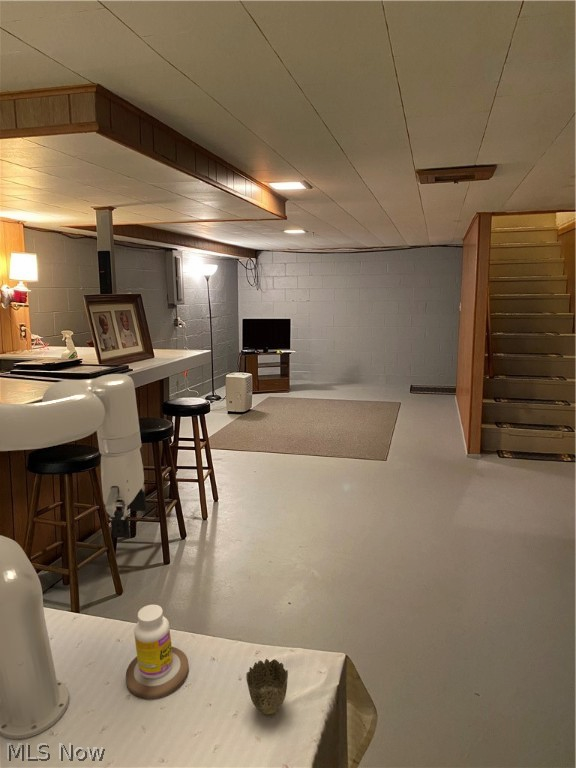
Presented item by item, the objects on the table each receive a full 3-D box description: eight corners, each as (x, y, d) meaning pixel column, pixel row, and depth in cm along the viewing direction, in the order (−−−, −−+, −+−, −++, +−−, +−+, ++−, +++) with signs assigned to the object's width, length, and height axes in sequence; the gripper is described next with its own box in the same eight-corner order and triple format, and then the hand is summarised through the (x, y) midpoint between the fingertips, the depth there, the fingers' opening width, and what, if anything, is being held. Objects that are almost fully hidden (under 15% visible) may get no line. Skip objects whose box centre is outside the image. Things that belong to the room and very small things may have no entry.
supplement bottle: (164, 683, 107) (157, 627, 103) (132, 677, 108) (125, 622, 105) (178, 656, 113) (173, 603, 109) (148, 651, 115) (142, 598, 111)
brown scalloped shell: (242, 702, 104) (239, 667, 102) (278, 687, 107) (276, 652, 105) (259, 734, 98) (256, 697, 95) (296, 716, 101) (295, 680, 98)
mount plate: (117, 698, 106) (116, 691, 105) (138, 651, 117) (137, 644, 117) (180, 700, 105) (179, 692, 104) (194, 652, 116) (194, 645, 116)
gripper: (116, 424, 112) (127, 501, 117) (80, 460, 96) (94, 548, 101) (153, 424, 112) (162, 501, 116) (123, 460, 95) (135, 548, 100)
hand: (130, 523), depth 108 cm, fingers open, 9 cm apart
